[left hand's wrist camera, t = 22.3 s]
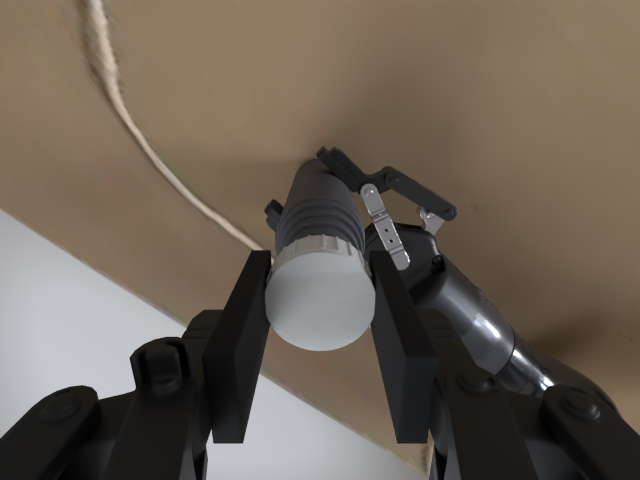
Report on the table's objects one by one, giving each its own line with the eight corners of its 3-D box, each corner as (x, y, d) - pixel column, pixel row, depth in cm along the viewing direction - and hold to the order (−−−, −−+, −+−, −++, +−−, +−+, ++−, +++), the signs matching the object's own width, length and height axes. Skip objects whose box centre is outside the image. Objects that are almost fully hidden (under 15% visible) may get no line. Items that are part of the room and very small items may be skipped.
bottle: (344, 212, 34) (376, 348, 15) (293, 210, 34) (257, 343, 15) (348, 160, 32) (390, 237, 13) (294, 157, 32) (255, 231, 13)
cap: (383, 308, 15) (391, 334, 13) (290, 336, 16) (287, 364, 14) (353, 219, 14) (358, 235, 12) (253, 252, 14) (244, 272, 13)
